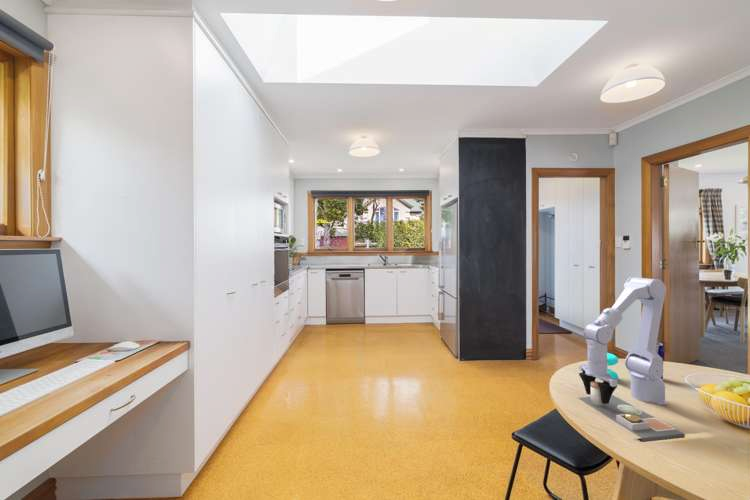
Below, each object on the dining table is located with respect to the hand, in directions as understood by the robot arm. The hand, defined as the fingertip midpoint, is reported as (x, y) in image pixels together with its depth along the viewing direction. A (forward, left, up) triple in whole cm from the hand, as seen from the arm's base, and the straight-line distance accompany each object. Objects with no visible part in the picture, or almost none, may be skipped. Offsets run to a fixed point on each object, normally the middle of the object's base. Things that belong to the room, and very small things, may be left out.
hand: (597, 398), depth 115 cm
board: (-4, +7, -3) cm, 9 cm away
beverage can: (-42, -18, -3) cm, 45 cm away
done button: (0, +14, -1) cm, 14 cm away
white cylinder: (0, 0, -2) cm, 2 cm away
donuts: (-22, -22, -3) cm, 31 cm away
